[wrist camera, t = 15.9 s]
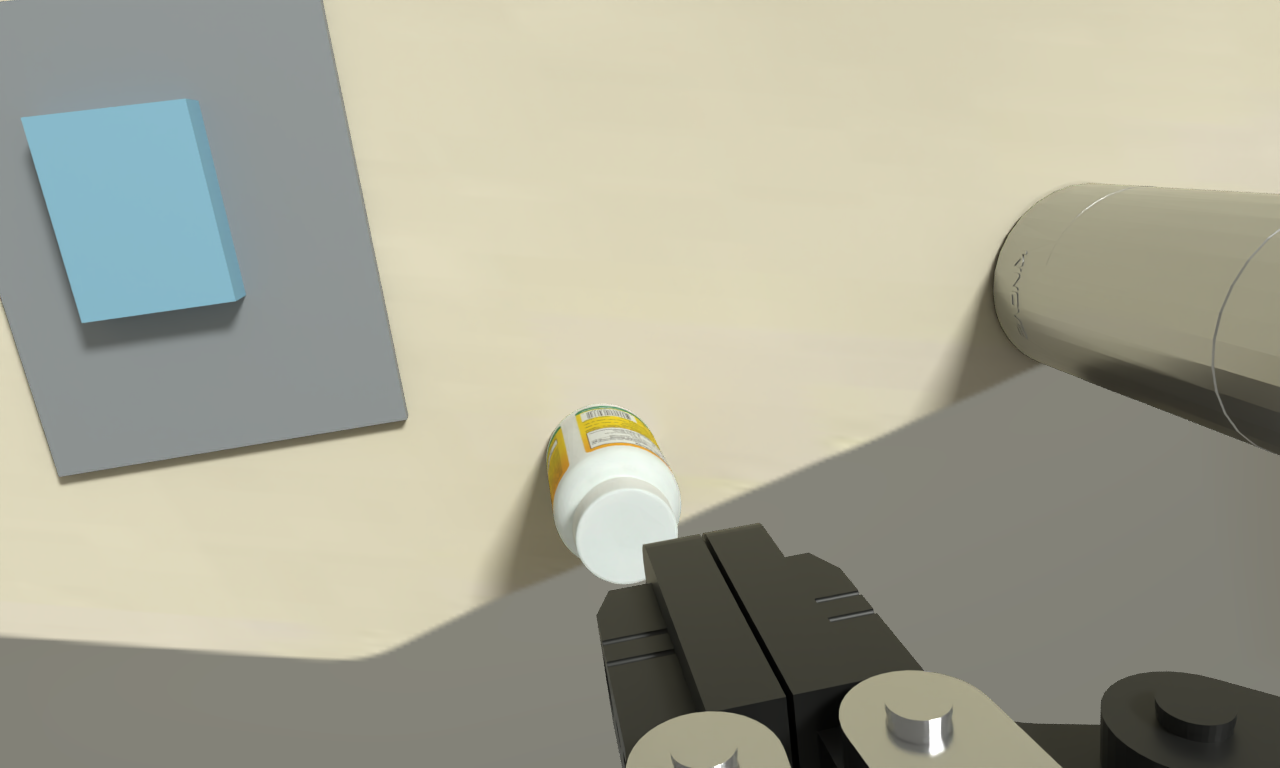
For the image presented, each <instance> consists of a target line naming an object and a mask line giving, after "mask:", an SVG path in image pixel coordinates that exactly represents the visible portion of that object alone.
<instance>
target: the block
mask: <svg viewBox="0 0 1280 768" xmlns="http://www.w3.org/2000/svg"><path fill="white" fill-rule="evenodd" d="M21 121H22V124H23V128H24V131H25V134H26V138H27V141H28V144H29V148H30V151H31V154H32V158H33V161H34V164H35V168H36V171H37V174H38V178H39V181H40V184H41V188H42V191H43V195H44V198H45V201H46V205H47V208H48V211H49V215H50V218H51V221H52V225H53V228H54V231H55V235H56V238H57V241H58V245H59V248H60V252H61V255H62V258H63V262H64V265H65V268H66V272H67V275H68V278H69V282H70V285H71V288H72V292H73V295H74V298H75V302H76V305H77V309H78V312H79V315H80V319H81V322H82V323H87V322H94V321H101V320H108V319H115V318H122V317H129V316H136V315H143V314H150V313H157V312H164V311H171V310H178V309H185V308H192V307H199V306H206V305H213V304H220V303H227V302H234V301H237V300H239V299H240V298H242V297H244V296H245V295H246V293H245V289H244V285H243V281H242V276H241V272H240V268H239V264H238V260H237V256H236V252H235V248H234V244H233V240H232V236H231V232H230V227H229V223H228V219H227V215H226V211H225V207H224V203H223V199H222V195H221V191H220V187H219V183H218V179H217V174H216V170H215V166H214V162H213V158H212V154H211V150H210V146H209V142H208V138H207V134H206V130H205V126H204V121H203V117H202V113H201V109H200V105H199V101H197V100H191V99H177V100H168V101H160V102H151V103H143V104H134V105H125V106H117V107H108V108H99V109H91V110H82V111H73V112H65V113H56V114H47V115H39V116H30V117H21Z"/></svg>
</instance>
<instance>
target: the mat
mask: <svg viewBox="0 0 1280 768" xmlns="http://www.w3.org/2000/svg"><path fill="white" fill-rule="evenodd" d="M177 99H191V100H197V101H199V105H200V109H201V113H202V117H203V121H204V126H205V130H206V134H207V138H208V142H209V146H210V150H211V154H212V158H213V162H214V166H215V170H216V174H217V179H218V183H219V187H220V191H221V195H222V199H223V203H224V207H225V211H226V215H227V219H228V223H229V227H230V232H231V236H232V240H233V244H234V248H235V252H236V256H237V260H238V264H239V268H240V272H241V276H242V281H243V285H244V289H245V293H246V295H245V296H244V297H242V298H240V299H239V300H237V301H234V302H227V303H220V304H213V305H206V306H199V307H192V308H185V309H178V310H171V311H164V312H157V313H150V314H143V315H136V316H129V317H122V318H115V319H108V320H101V321H94V322H87V323H82V322H81V319H80V315H79V312H78V309H77V305H76V302H75V298H74V295H73V292H72V288H71V285H70V282H69V278H68V275H67V272H66V268H65V265H64V262H63V258H62V255H61V252H60V248H59V245H58V241H57V238H56V235H55V231H54V228H53V225H52V221H51V218H50V215H49V211H48V208H47V205H46V201H45V198H44V195H43V191H42V188H41V184H40V181H39V178H38V174H37V171H36V168H35V164H34V161H33V158H32V154H31V151H30V148H29V144H28V141H27V138H26V134H25V131H24V128H23V124H22V121H21V117H30V116H39V115H47V114H56V113H65V112H73V111H82V110H91V109H99V108H108V107H117V106H125V105H134V104H143V103H151V102H160V101H168V100H177ZM0 297H1V300H2V303H3V306H4V309H5V312H6V315H7V318H8V321H9V324H10V328H11V331H12V334H13V337H14V340H15V343H16V346H17V349H18V352H19V355H20V358H21V361H22V364H23V368H24V371H25V374H26V377H27V380H28V383H29V386H30V389H31V392H32V395H33V398H34V401H35V404H36V408H37V411H38V414H39V417H40V420H41V423H42V426H43V429H44V432H45V435H46V438H47V441H48V445H49V448H50V451H51V454H52V457H53V460H54V463H55V466H56V469H57V472H58V475H59V477H61V476H68V475H74V474H80V473H86V472H92V471H98V470H104V469H110V468H116V467H122V466H128V465H134V464H140V463H146V462H152V461H159V460H165V459H171V458H177V457H183V456H189V455H195V454H201V453H207V452H213V451H219V450H225V449H231V448H237V447H243V446H250V445H256V444H262V443H268V442H274V441H280V440H286V439H292V438H298V437H304V436H310V435H316V434H322V433H328V432H334V431H341V430H347V429H353V428H359V427H365V426H371V425H377V424H383V423H389V422H395V421H401V420H407V418H408V412H407V408H406V403H405V398H404V393H403V388H402V383H401V379H400V374H399V369H398V364H397V359H396V354H395V349H394V345H393V340H392V335H391V330H390V325H389V320H388V316H387V311H386V306H385V301H384V296H383V291H382V286H381V282H380V277H379V272H378V267H377V262H376V257H375V253H374V248H373V243H372V238H371V233H370V228H369V223H368V219H367V214H366V209H365V204H364V199H363V194H362V190H361V185H360V180H359V175H358V170H357V165H356V160H355V156H354V151H353V146H352V141H351V136H350V131H349V127H348V122H347V117H346V112H345V107H344V102H343V97H342V93H341V88H340V83H339V78H338V73H337V68H336V64H335V59H334V54H333V49H332V44H331V39H330V34H329V30H328V25H327V20H326V15H325V10H324V5H323V1H322V0H12V1H3V2H0Z"/></svg>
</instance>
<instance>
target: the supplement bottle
mask: <svg viewBox="0 0 1280 768" xmlns="http://www.w3.org/2000/svg"><path fill="white" fill-rule="evenodd" d="M546 464H547V473H548V481H549V487H550V494H551V501H552V509H553V516H554V521H555V525H556V529H557V531H558V534H559V536H560V537H561V539H562V541H563V543H564V544H565V545H566V546H567V548H568V549H569V550H570V551H571V552H572V553H573V554H574V555H576V556H577V557H578V558H580V559H581V561H582V563H583V564H584V566H585V567H586V568H587V569H588V570H589V571H590V572H591V573H593V574H594V575H595V576H596V577H598V578H601V579H602V580H605V581H607V582H610V583H615V584H632V583H637V582H641V581H643V580H646V578H645V571H644V563H643V553H642V546H643V544H648V543H654V542H659V541H664V540H670V539H675V538H678V526H677V525H678V522H679V518H680V513H681V496H680V491H679V487H678V484H677V481H676V479H675V477H674V475H673V473H672V471H671V469H670V467H669V465H668V463H667V461H666V460H665V458H664V456H663V454H662V452H661V451H660V449H659V447H658V445H657V443H656V441H655V439H654V437H653V435H652V433H651V432H650V430H649V428H648V427H647V425H646V424H645V423H644V422H643V420H642V419H640V418H639V417H638V416H637V415H636V414H634V413H633V412H631V411H629V410H627V409H625V408H623V407H620V406H617V405H612V404H593V405H588V406H585V407H582V408H580V409H578V410H576V411H574V412H572V413H571V414H569V415H568V416H567V417H566V418H564V419H563V420H562V421H561V422H560V424H559V425H558V426H557V427H556V429H555V430H554V432H553V434H552V436H551V438H550V441H549V444H548V448H547V455H546Z"/></svg>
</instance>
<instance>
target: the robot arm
mask: <svg viewBox="0 0 1280 768" xmlns="http://www.w3.org/2000/svg"><path fill="white" fill-rule="evenodd" d="M993 294H994V302H995V310H996V313H997V316H998V319H999V321H1000V324H1001V327H1002V329H1003V330H1004V332H1005V333H1006V335H1007V337H1008V338H1009V340H1010V341H1011V342H1012V343H1013V344H1014V345H1015V346H1016V347H1017V348H1018V349H1019V350H1020V351H1021V352H1022V353H1023V354H1025V355H1027V356H1029V357H1030V358H1032V359H1034V360H1036V361H1037V362H1040V363H1043V364H1045V365H1048V366H1050V367H1053V368H1055V369H1058V370H1060V371H1063V372H1066V373H1068V374H1071V375H1073V376H1076V377H1078V378H1081V379H1083V380H1085V381H1088V382H1090V383H1093V384H1096V385H1098V386H1101V387H1103V388H1106V389H1108V390H1111V391H1114V392H1117V393H1119V394H1121V395H1124V396H1126V397H1129V398H1132V399H1134V400H1137V401H1139V402H1142V403H1145V404H1147V405H1150V406H1152V407H1155V408H1157V409H1160V410H1162V411H1165V412H1168V413H1170V414H1173V415H1175V416H1178V417H1181V418H1183V419H1186V420H1188V421H1191V422H1193V423H1196V424H1199V425H1201V426H1204V427H1206V428H1209V429H1211V430H1214V431H1217V432H1219V433H1222V434H1224V435H1227V436H1229V437H1232V438H1235V439H1237V440H1240V441H1242V442H1245V443H1248V444H1250V445H1253V446H1255V447H1258V448H1260V449H1263V450H1265V451H1268V452H1271V453H1273V454H1277V455H1280V194H1268V193H1251V192H1234V191H1216V190H1199V189H1181V188H1164V187H1152V186H1134V185H1115V184H1097V183H1087V184H1080V185H1072V186H1069V187H1066V188H1064V189H1061V190H1058V191H1056V192H1053V193H1051V194H1050V195H1048V196H1047V197H1045V198H1043V199H1042V200H1040V201H1039V202H1037V203H1036V204H1035V205H1034V206H1033V207H1032V208H1030V209H1029V210H1028V211H1027V212H1026V213H1025V214H1024V215H1023V216H1022V217H1021V218H1020V220H1019V221H1018V222H1017V224H1016V225H1015V226H1014V228H1013V229H1012V230H1011V232H1010V233H1009V235H1008V237H1007V239H1006V241H1005V243H1004V245H1003V247H1002V249H1001V251H1000V255H999V258H998V262H997V265H996V269H995V275H994V287H993ZM642 553H643V563H644V571H645V578H646V584H643V585H638V586H632V587H627V588H622V589H617V590H611V591H609V592H608V594H607V596H606V598H605V600H604V602H603V604H602V606H601V608H600V610H599V612H598V614H597V621H598V628H599V635H600V641H601V647H602V654H603V660H604V666H605V673H606V680H607V685H608V692H609V699H610V705H611V712H612V718H613V724H614V729H615V734H616V739H617V744H618V749H619V753H620V759H621V763H622V768H1280V697H1278V696H1275V695H1271V694H1268V693H1264V692H1260V691H1257V690H1253V689H1250V688H1246V687H1242V686H1239V685H1235V684H1231V683H1228V682H1224V681H1221V680H1217V679H1213V678H1209V677H1205V676H1200V675H1195V674H1188V673H1181V672H1149V673H1142V674H1136V675H1132V676H1129V677H1126V678H1124V679H1121V680H1119V681H1117V682H1116V683H1114V684H1113V685H1111V686H1110V687H1109V688H1108V689H1107V691H1106V692H1105V693H1104V695H1103V698H1102V700H1101V724H1100V725H1079V724H1078V725H1076V724H1033V723H1020V722H1014V721H1013V720H1012V719H1011V718H1010V717H1009V716H1008V715H1007V714H1005V713H1004V712H1003V711H1002V710H1001V709H1000V708H999V707H998V706H997V705H996V704H995V703H994V702H993V701H992V700H991V699H990V698H989V697H988V696H986V695H985V694H984V693H983V692H981V691H980V690H979V689H977V688H975V687H974V686H972V685H970V684H969V683H966V682H964V681H962V680H960V679H957V678H954V677H951V676H948V675H944V674H939V673H935V672H927V671H924V670H923V669H922V668H921V666H920V665H919V664H918V663H917V662H916V660H915V659H914V658H913V657H912V656H911V654H910V653H909V652H908V651H907V649H906V648H905V647H904V646H903V645H902V643H901V642H900V641H899V640H898V639H897V637H896V636H895V635H894V634H893V632H892V631H891V630H890V629H889V627H888V626H887V625H886V624H885V623H884V622H883V620H882V619H881V618H880V616H879V615H878V614H874V611H873V608H872V607H871V605H870V604H869V603H868V602H867V601H866V600H865V598H864V597H863V596H862V595H859V593H858V590H857V588H856V587H855V586H854V585H853V584H852V582H851V581H850V580H849V579H848V577H847V576H846V575H845V574H844V573H843V571H842V570H841V569H840V568H838V567H836V566H834V565H832V564H830V563H828V562H826V561H824V560H822V559H820V558H818V557H816V556H814V555H812V554H810V553H805V554H800V555H794V556H789V557H784V555H783V554H782V553H781V551H780V550H779V548H778V547H777V545H776V544H775V543H774V541H773V540H772V538H771V537H770V536H769V534H768V533H767V531H766V530H765V528H764V527H763V526H762V525H761V524H760V523H755V524H750V525H745V526H739V527H734V528H729V529H723V530H718V531H712V532H707V533H703V535H702V537H701V535H700V534H697V535H692V536H686V537H681V538H675V539H670V540H664V541H659V542H654V543H648V544H643V546H642Z"/></svg>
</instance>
